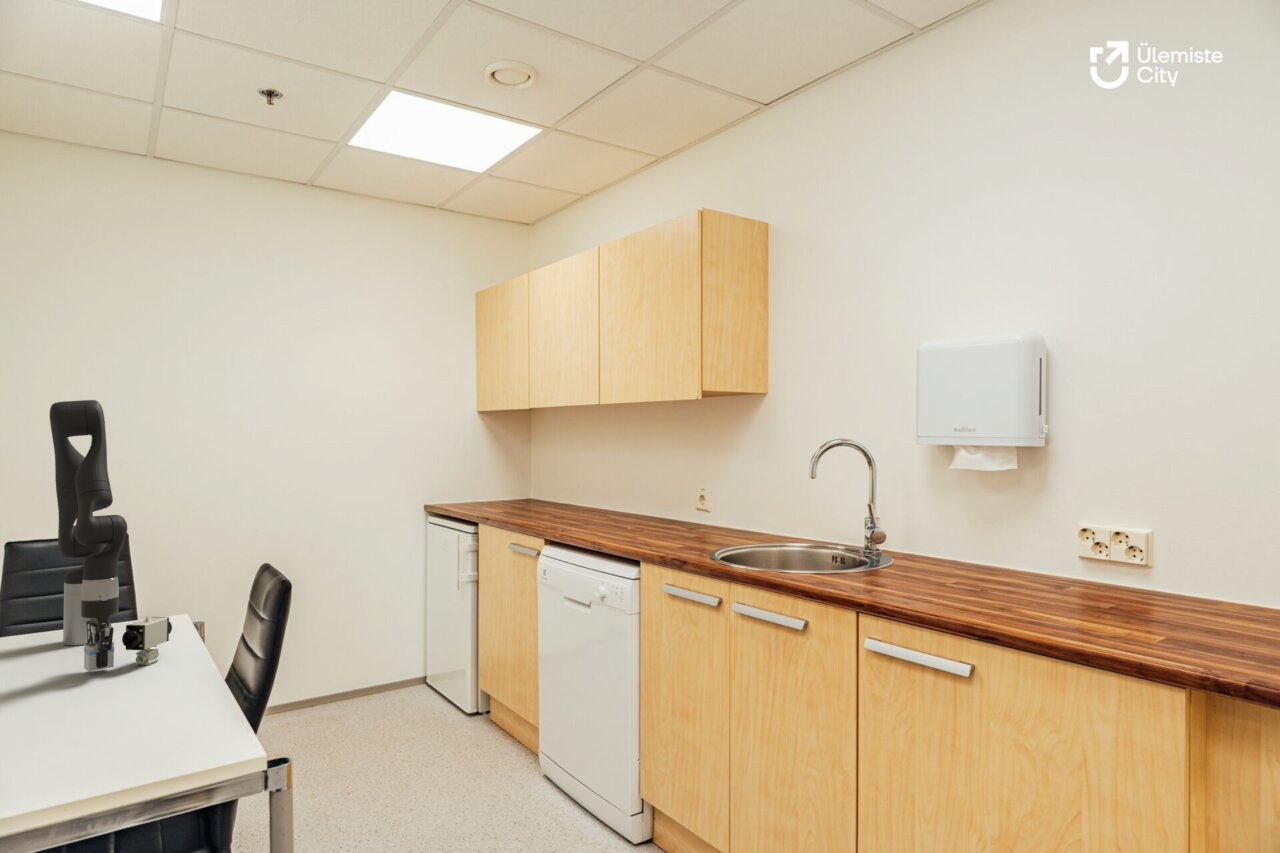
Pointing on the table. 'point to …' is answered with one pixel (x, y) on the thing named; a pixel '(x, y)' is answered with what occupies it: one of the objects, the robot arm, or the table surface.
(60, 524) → the robot arm
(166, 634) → the pneumatic valve
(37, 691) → the table surface
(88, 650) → the grey box with knob
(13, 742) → the table surface
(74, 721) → the table surface
